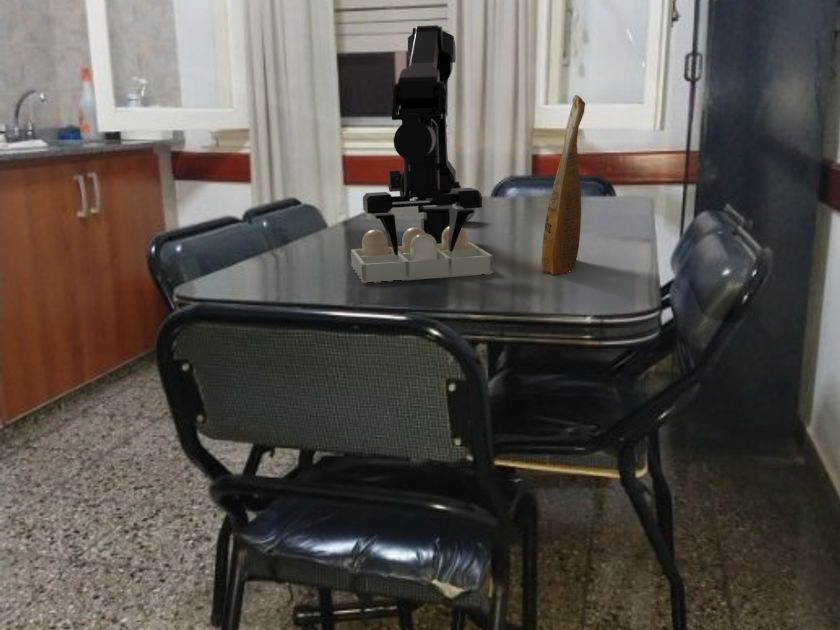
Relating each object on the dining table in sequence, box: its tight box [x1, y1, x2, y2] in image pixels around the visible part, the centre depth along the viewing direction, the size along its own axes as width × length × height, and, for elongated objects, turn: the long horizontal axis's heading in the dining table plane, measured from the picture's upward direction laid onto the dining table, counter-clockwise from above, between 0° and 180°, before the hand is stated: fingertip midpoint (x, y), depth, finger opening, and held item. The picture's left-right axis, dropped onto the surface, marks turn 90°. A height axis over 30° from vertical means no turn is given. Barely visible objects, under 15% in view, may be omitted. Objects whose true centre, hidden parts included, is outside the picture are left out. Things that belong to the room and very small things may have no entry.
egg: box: [410, 233, 437, 261], centre depth 129 cm, size 4×4×6 cm
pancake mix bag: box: [541, 94, 586, 276], centre depth 129 cm, size 7×19×28 cm, turn 164°
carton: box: [350, 226, 494, 284], centre depth 132 cm, size 22×15×7 cm
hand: (423, 253), depth 129 cm, fingers open, 9 cm apart
